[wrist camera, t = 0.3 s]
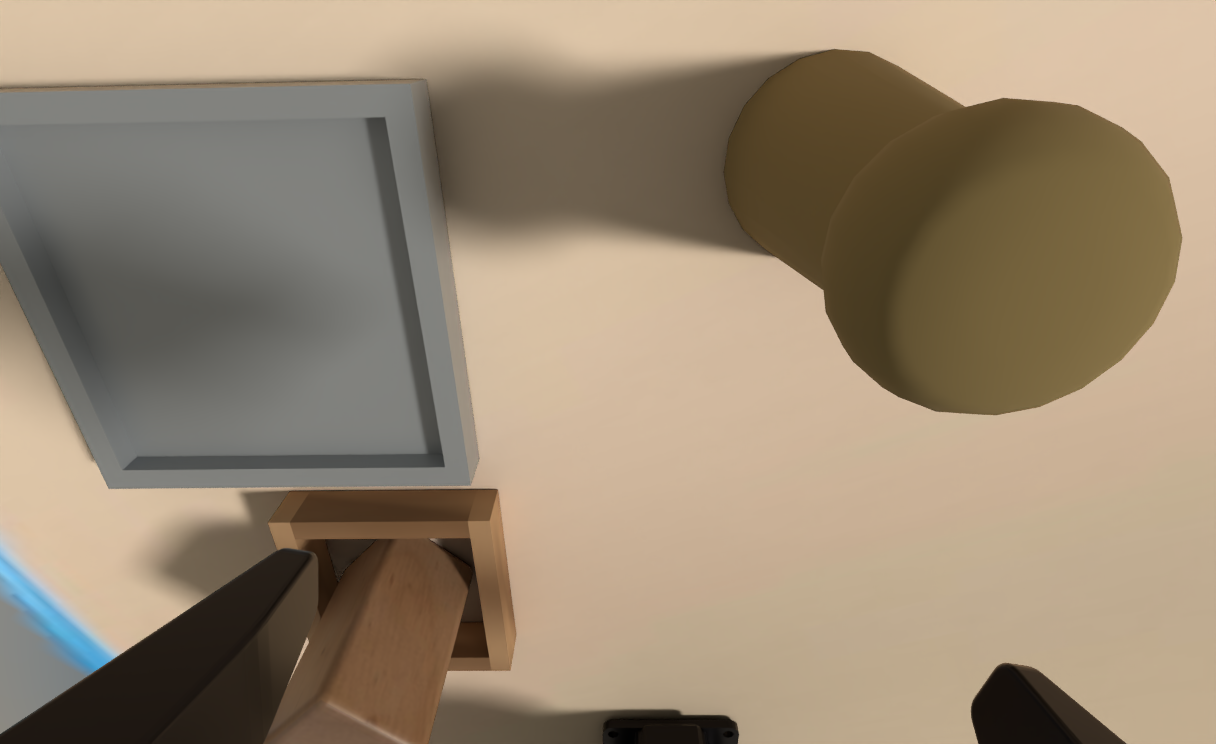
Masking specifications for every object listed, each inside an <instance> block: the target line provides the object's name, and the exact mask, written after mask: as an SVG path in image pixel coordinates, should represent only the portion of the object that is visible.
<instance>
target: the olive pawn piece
mask: <svg viewBox="0 0 1216 744" xmlns="http://www.w3.org/2000/svg"><path fill="white" fill-rule="evenodd" d="M724 177H725V183H726V189H727V195H728V202H729V204H730V206H731V208H732V210H733V212H734V214H735V216H736V218H737V220H738V221H739V223H740V225H741V227H742V229H743V230H744V231H745V232H746V233H747V234H749V235H750V236H751V237H752V238H753V239H754V240H755V241H756V242H757V243H758V244H760V245H761V246H762V247H763V248H764V249H766V250H767V251H768V252H770V253H771V254H773V255H774V256H776V257H777V258H778V259H780V260H781V261H783V262H784V263H785V264H787V265H788V266H790V267H791V268H793V269H794V270H795V271H797V272H798V273H800V274H801V275H803V276H804V277H805V278H807V279H808V280H810V281H811V282H813V283H814V284H815V285H817V286H818V287H820V288H821V289H823V290H824V299H825V309H826V313H827V315H828V317H829V319H830V321H831V323H832V325H833V327H834V329H835V331H836V333H837V335H838V337H839V339H840V341H841V343H842V345H843V347H844V349H845V350H846V352H847V353H848V355H849V356H850V358H851V359H852V361H853V362H854V363H855V364H857V365H858V366H859V367H860V368H861V369H862V370H863V371H864V372H866V373H867V374H868V375H869V376H870V377H871V378H872V379H873V380H875V381H876V382H877V383H878V384H879V385H880V386H881V387H883V388H884V389H886V390H888V391H890V392H891V393H893V394H895V395H896V396H898V397H900V398H903V399H905V400H908V401H911V402H913V403H916V404H918V405H921V406H923V407H926V408H928V409H931V410H934V411H937V412H952V413H966V414H982V415H999V414H1005V413H1010V412H1015V411H1021V410H1026V409H1031V408H1037V407H1040V406H1043V405H1045V404H1047V403H1050V402H1052V401H1054V400H1056V399H1059V398H1061V397H1063V396H1066V395H1068V394H1070V393H1072V392H1075V391H1077V390H1079V389H1082V388H1083V387H1085V386H1086V385H1087V384H1089V383H1090V382H1091V381H1093V380H1094V379H1096V378H1097V377H1098V376H1100V375H1101V374H1102V373H1104V372H1105V371H1107V370H1108V369H1109V368H1111V367H1112V366H1114V365H1115V364H1116V363H1118V362H1119V361H1120V360H1122V359H1123V357H1124V356H1125V355H1126V354H1127V353H1128V352H1129V351H1130V349H1131V348H1132V347H1133V346H1134V345H1135V344H1136V343H1137V342H1138V340H1139V339H1140V338H1141V337H1142V336H1143V335H1144V334H1145V332H1146V331H1147V330H1148V329H1149V328H1150V327H1151V326H1152V324H1153V323H1154V321H1155V319H1156V317H1157V315H1158V314H1159V312H1160V310H1161V308H1162V306H1163V304H1164V302H1165V300H1166V298H1167V296H1168V294H1169V292H1170V290H1171V288H1172V286H1173V284H1174V282H1175V278H1176V272H1177V266H1178V260H1179V254H1180V249H1181V243H1182V234H1181V230H1180V225H1179V220H1178V216H1177V211H1176V206H1175V202H1174V197H1173V193H1172V189H1171V184H1170V180H1169V177H1168V176H1167V174H1166V173H1165V172H1164V170H1163V169H1162V168H1161V166H1160V165H1159V164H1158V163H1157V161H1156V160H1155V159H1154V157H1153V156H1152V155H1151V154H1150V152H1149V151H1148V150H1147V148H1146V147H1145V146H1144V144H1143V143H1142V142H1141V141H1140V140H1139V139H1137V138H1136V137H1134V136H1133V135H1132V134H1130V133H1129V132H1128V131H1126V130H1125V129H1124V128H1122V127H1120V126H1118V125H1116V124H1114V123H1112V122H1110V121H1108V120H1106V119H1104V118H1102V117H1100V116H1098V115H1096V114H1094V113H1092V112H1090V111H1088V110H1086V109H1084V108H1082V107H1080V106H1078V105H1071V104H1064V103H1057V102H1046V101H1033V100H1021V99H1008V98H1001V99H997V100H993V101H989V102H985V103H981V104H977V105H973V106H969V107H965V106H963V105H961V104H960V103H958V102H956V101H955V100H953V99H952V98H950V97H948V96H947V95H945V94H943V93H942V92H940V91H938V90H937V89H935V88H933V87H932V86H930V85H928V84H927V83H925V82H923V81H922V80H920V79H918V78H917V77H915V76H913V75H912V74H910V73H908V72H907V71H905V70H903V69H902V68H900V67H899V66H896V65H894V64H892V63H890V62H888V61H886V60H884V59H882V58H880V57H878V56H876V55H874V54H872V53H870V52H862V51H850V50H838V49H834V50H830V51H826V52H823V53H819V54H815V55H811V56H807V57H804V58H800V59H798V60H797V61H795V62H794V63H792V64H790V65H789V66H787V67H786V68H784V69H783V70H781V71H779V72H778V73H776V74H775V75H773V76H771V77H770V78H768V80H767V81H766V82H765V83H764V84H763V85H762V86H761V88H760V89H759V90H758V91H757V92H756V93H755V94H754V95H753V97H752V98H751V99H750V100H749V101H748V102H747V103H746V105H745V106H744V107H743V110H742V112H741V114H740V116H739V118H738V120H737V122H736V124H735V127H734V129H733V131H732V133H731V135H730V137H729V141H728V147H727V154H726V161H725V167H724Z"/></svg>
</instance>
